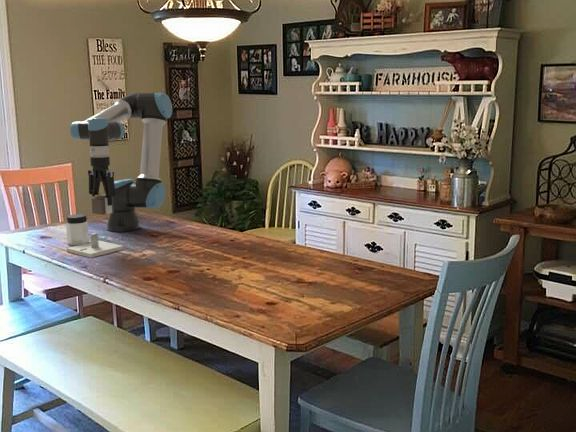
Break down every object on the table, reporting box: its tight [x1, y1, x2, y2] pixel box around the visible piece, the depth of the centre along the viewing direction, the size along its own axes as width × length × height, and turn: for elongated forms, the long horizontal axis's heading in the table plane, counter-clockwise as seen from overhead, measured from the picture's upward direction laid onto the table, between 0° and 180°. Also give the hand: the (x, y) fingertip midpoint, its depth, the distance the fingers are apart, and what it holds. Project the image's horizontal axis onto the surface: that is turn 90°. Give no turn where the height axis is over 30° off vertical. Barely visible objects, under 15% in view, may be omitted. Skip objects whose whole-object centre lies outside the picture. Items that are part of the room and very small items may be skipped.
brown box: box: [91, 193, 114, 215], centre depth 268 cm, size 7×7×8 cm
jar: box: [65, 213, 90, 246], centre depth 281 cm, size 9×8×12 cm
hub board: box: [66, 232, 124, 258], centre depth 269 cm, size 16×16×7 cm
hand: (103, 212), depth 269 cm, fingers closed on brown box, 6 cm apart
